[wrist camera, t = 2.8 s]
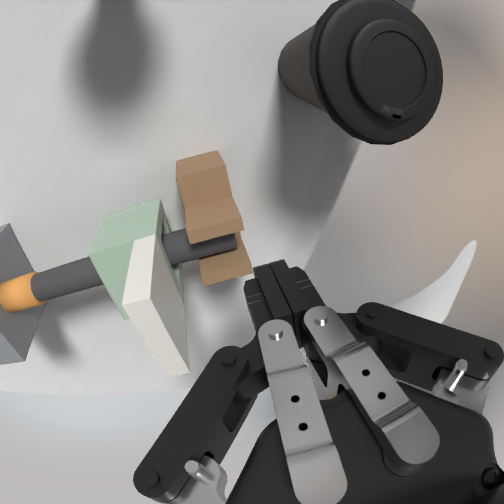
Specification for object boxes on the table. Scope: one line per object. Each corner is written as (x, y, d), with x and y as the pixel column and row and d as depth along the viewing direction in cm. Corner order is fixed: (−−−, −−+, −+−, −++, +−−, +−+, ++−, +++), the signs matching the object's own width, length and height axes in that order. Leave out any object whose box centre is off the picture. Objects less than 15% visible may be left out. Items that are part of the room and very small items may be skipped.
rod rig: (217, 150, 21) (237, 187, 14) (238, 243, 25) (262, 308, 19) (-20, 237, 19) (-63, 291, 12) (19, 304, 23) (-6, 365, 16)
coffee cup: (290, 137, 21) (362, 180, 13) (237, 43, 17) (284, 13, 9) (373, 94, 20) (467, 118, 12) (332, 5, 16) (422, -20, 8)
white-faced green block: (160, 198, 19) (150, 298, 11) (181, 259, 22) (190, 372, 14) (105, 215, 19) (64, 319, 10) (131, 273, 21) (117, 386, 13)
